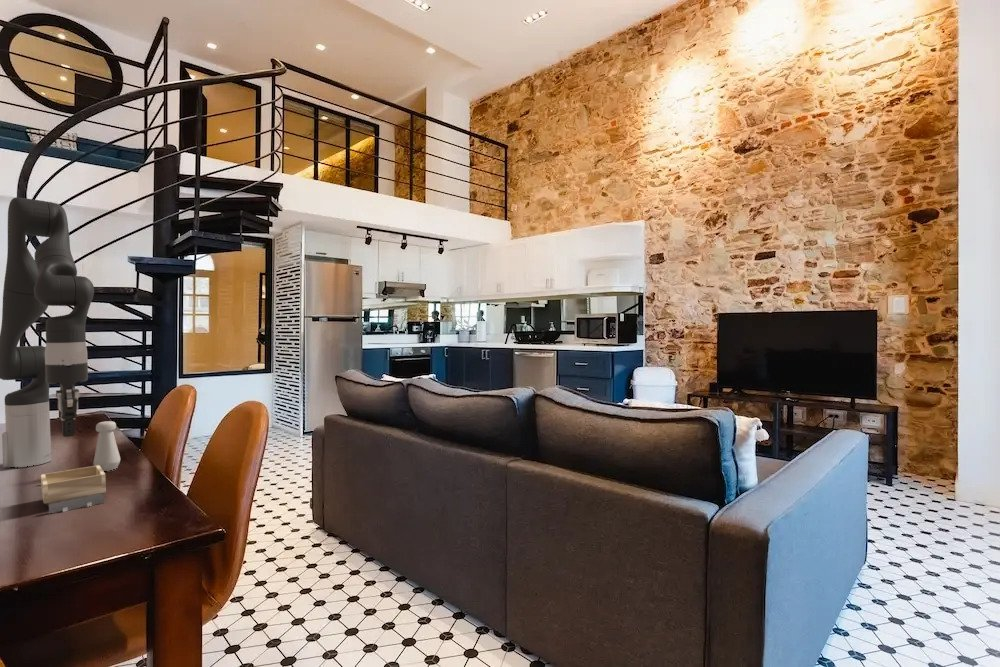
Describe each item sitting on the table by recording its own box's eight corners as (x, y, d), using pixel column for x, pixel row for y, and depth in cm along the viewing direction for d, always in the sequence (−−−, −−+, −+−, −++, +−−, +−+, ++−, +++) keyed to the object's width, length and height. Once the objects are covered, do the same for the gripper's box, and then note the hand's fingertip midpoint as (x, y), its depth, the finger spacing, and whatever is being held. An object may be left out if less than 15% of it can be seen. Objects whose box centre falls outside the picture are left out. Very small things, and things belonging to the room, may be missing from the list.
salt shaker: (126, 467, 141) (124, 419, 140) (108, 473, 135) (106, 424, 135) (106, 466, 141) (105, 419, 141) (88, 472, 136) (86, 423, 135)
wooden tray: (44, 510, 108) (43, 484, 107) (41, 498, 115) (40, 474, 115) (106, 497, 115) (105, 474, 115) (100, 487, 122) (99, 465, 122)
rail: (42, 484, 126) (42, 476, 126) (89, 476, 132) (89, 468, 132) (49, 514, 106) (49, 505, 106) (104, 503, 112) (103, 494, 112)
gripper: (43, 360, 121) (45, 433, 122) (46, 364, 111) (49, 443, 112) (84, 359, 126) (86, 428, 127) (90, 362, 117) (92, 438, 117)
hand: (68, 435), depth 119 cm, fingers closed
